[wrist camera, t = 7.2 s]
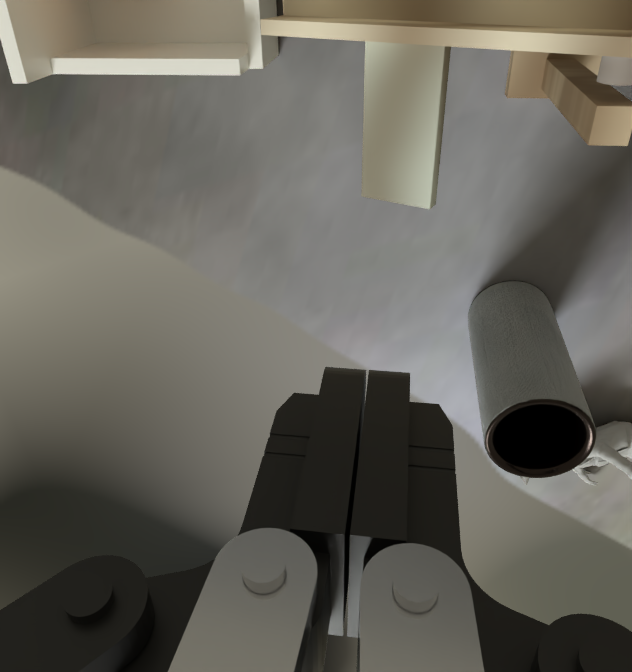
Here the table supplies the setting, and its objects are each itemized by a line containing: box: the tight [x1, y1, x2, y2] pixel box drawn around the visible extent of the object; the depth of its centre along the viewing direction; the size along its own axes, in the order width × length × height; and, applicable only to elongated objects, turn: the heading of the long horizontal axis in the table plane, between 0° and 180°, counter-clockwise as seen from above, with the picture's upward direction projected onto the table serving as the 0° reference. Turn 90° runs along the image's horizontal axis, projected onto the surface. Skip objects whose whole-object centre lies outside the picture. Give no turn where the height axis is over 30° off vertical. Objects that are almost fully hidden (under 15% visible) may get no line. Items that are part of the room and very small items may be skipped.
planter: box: [468, 281, 597, 478], centre depth 30 cm, size 4×4×10 cm
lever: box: [260, 0, 632, 209], centre depth 19 cm, size 20×13×8 cm, turn 94°
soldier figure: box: [520, 421, 632, 485], centre depth 36 cm, size 8×5×12 cm
